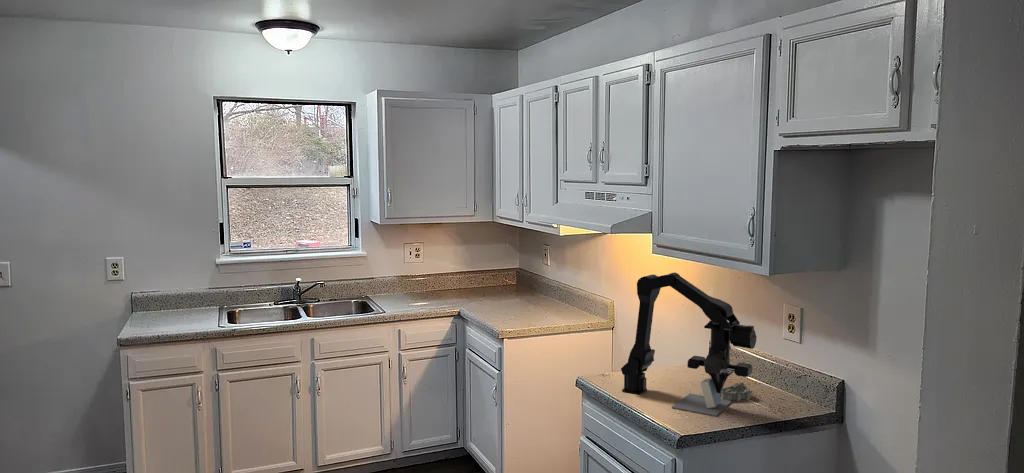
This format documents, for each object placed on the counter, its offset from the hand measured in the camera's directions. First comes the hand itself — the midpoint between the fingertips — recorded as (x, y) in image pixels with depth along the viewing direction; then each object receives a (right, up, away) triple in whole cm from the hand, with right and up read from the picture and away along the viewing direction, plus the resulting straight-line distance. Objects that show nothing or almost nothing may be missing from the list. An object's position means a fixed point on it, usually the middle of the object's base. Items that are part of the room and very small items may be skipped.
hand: (718, 392), depth 220 cm
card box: (-1, -4, +1) cm, 4 cm away
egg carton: (+8, -4, +11) cm, 14 cm away
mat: (-4, -5, +3) cm, 7 cm away
